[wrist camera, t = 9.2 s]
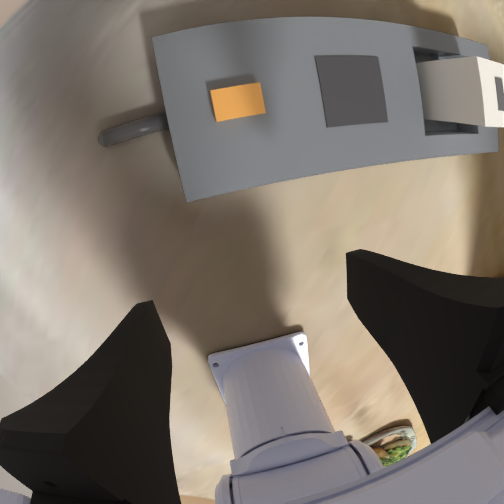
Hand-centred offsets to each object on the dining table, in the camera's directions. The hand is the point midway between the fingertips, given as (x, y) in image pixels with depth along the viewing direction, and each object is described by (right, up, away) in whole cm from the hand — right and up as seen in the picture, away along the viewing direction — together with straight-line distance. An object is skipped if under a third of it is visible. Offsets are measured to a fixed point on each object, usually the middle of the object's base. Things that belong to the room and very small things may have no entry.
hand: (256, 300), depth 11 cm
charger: (+13, +13, +7) cm, 20 cm away
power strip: (+5, +12, +6) cm, 14 cm away
